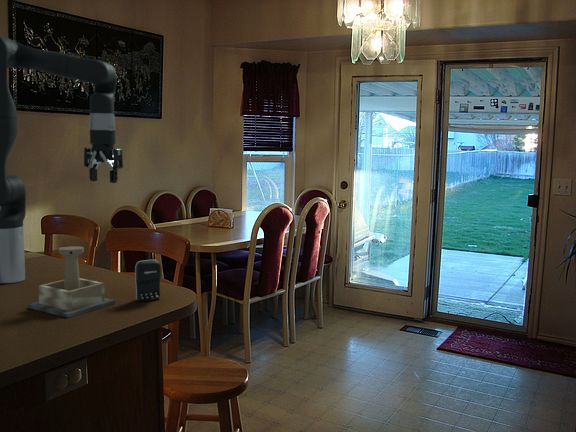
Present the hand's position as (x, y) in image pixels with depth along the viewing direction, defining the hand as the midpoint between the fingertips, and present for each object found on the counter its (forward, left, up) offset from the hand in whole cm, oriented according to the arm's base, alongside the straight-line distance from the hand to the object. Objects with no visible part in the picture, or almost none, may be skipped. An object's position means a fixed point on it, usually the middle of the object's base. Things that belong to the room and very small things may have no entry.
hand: (103, 182), depth 185 cm
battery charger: (+24, -6, -32) cm, 41 cm away
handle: (+11, -22, -31) cm, 40 cm away
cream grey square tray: (+11, -22, -32) cm, 40 cm away
